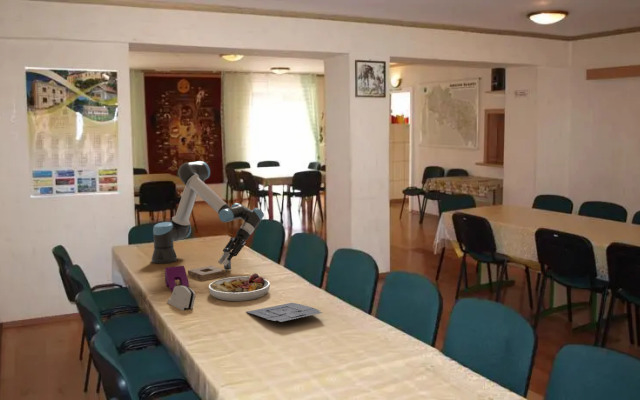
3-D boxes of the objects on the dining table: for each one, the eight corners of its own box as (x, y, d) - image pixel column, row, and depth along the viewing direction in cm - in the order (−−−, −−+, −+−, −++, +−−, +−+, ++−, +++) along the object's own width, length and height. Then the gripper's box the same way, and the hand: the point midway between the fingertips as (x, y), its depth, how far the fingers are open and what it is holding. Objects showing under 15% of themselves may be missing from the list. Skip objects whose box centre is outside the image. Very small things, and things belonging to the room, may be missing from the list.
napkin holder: (166, 302, 276) (172, 282, 277) (175, 303, 279) (181, 283, 280) (183, 311, 263) (189, 289, 264) (192, 312, 266) (197, 290, 267)
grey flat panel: (277, 329, 235) (276, 320, 235) (245, 317, 260) (244, 309, 260) (327, 318, 248) (326, 309, 248) (292, 308, 273) (291, 300, 273)
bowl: (243, 306, 269) (243, 290, 268) (196, 297, 285) (195, 281, 284) (281, 290, 294) (281, 275, 293) (236, 282, 310) (235, 268, 309)
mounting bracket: (189, 301, 297) (183, 278, 312) (190, 288, 293) (184, 265, 307) (170, 303, 294) (164, 280, 308) (170, 290, 289) (165, 267, 303)
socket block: (188, 275, 325) (187, 270, 325) (211, 270, 335) (211, 265, 335) (201, 280, 314) (201, 275, 314) (225, 275, 324) (225, 270, 324)
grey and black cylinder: (222, 268, 335) (222, 248, 333) (228, 267, 338) (228, 247, 336) (226, 270, 332) (226, 249, 330) (232, 269, 335) (232, 248, 333)
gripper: (257, 237, 336) (234, 270, 328) (240, 233, 349) (217, 264, 340) (249, 229, 332) (225, 262, 323) (233, 225, 345) (209, 257, 336)
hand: (221, 263), depth 332 cm, fingers closed on grey and black cylinder, 4 cm apart
